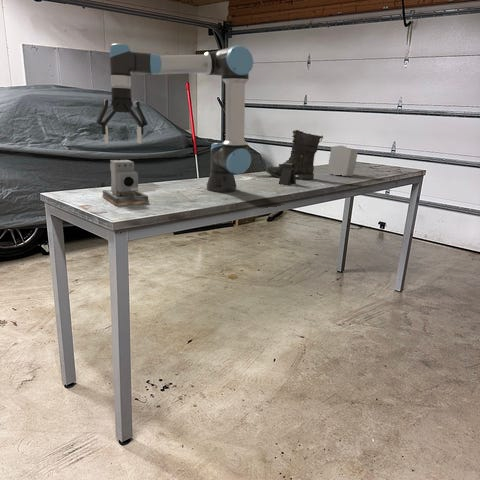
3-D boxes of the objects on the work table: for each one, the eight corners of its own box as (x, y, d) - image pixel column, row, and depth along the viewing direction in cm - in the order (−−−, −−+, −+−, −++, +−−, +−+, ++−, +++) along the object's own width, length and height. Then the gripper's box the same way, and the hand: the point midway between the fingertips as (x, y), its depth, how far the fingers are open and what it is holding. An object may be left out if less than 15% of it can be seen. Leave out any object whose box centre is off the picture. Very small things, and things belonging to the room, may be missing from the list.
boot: (266, 174, 267) (269, 128, 258) (318, 178, 261) (323, 131, 253) (264, 176, 256) (267, 128, 247) (318, 180, 251) (323, 131, 242)
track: (133, 194, 185) (133, 188, 184) (148, 203, 171) (148, 196, 170) (102, 197, 178) (102, 190, 177) (115, 205, 164) (115, 198, 163)
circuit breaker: (122, 201, 167) (120, 164, 162) (111, 195, 178) (109, 160, 173) (140, 200, 171) (139, 164, 166) (128, 193, 182) (127, 159, 177)
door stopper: (287, 185, 229) (288, 163, 225) (278, 184, 232) (280, 162, 229) (296, 184, 235) (297, 162, 232) (287, 182, 239) (289, 161, 236)
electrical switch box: (356, 179, 281) (362, 149, 277) (345, 177, 270) (351, 146, 266) (337, 176, 290) (342, 147, 286) (326, 174, 279) (332, 144, 275)
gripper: (147, 89, 171) (148, 142, 177) (85, 85, 157) (89, 142, 164) (154, 89, 165) (155, 143, 171) (91, 85, 151) (94, 144, 158)
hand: (123, 143), depth 167 cm, fingers open, 13 cm apart
